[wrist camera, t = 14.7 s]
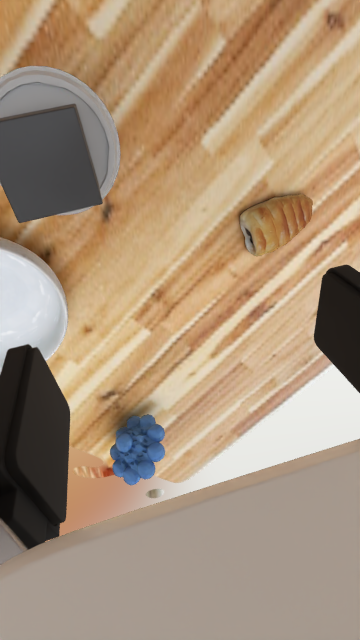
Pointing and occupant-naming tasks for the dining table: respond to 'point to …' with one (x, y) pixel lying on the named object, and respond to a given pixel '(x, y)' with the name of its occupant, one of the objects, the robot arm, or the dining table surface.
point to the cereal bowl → (29, 302)
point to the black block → (46, 163)
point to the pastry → (275, 222)
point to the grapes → (137, 449)
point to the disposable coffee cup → (58, 90)
